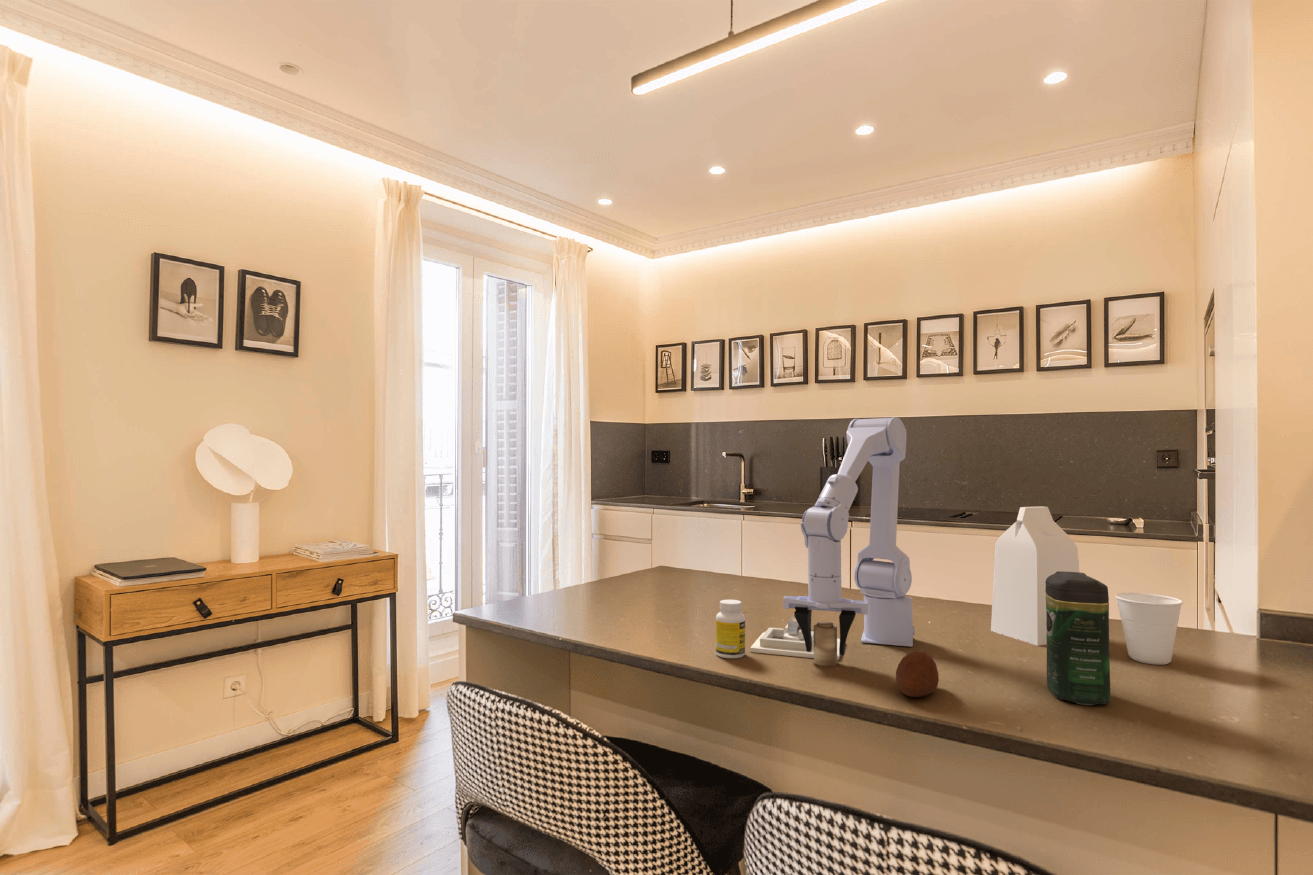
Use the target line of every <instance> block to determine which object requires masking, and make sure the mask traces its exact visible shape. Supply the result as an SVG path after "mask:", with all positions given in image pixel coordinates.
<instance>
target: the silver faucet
mask: <svg viewBox="0 0 1313 875" xmlns="http://www.w3.org/2000/svg"><path fill="white" fill-rule="evenodd" d="M794 613H795V608H793V614H792V615H791V617H790V618H789V619H788V621H787V624H788V634H790V635H797V634H798V633H799V630H800V626H799V624H798V622H797V620H796V618H795V616H794Z"/></svg>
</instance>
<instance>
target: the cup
mask: <svg viewBox="0 0 1313 875" xmlns="http://www.w3.org/2000/svg"><path fill="white" fill-rule="evenodd" d="M1114 597H1115V599H1116V602H1117V606H1118V611H1119V617H1120V619H1121V625H1122V629H1123V635H1124V640H1125V643H1126V644H1125V645H1126V650H1127V653H1128V656H1129V657H1130V659H1132V660H1133V661H1136V662H1139V663H1142V664H1148V665H1158V666H1163V665H1168V664H1169V663H1171V662H1172V659H1173V658H1172V657H1173V652H1174V647H1175V641H1176V634H1177V631H1178V630H1177V629H1178V624H1179V620H1180V614H1181V608H1182V605H1183V604H1184V601H1183V600H1181V599H1179V598H1176V597H1173V596H1168V595H1162V594H1157V593H1156V594H1154V593H1146V592H1120V593H1116V594H1115V595H1114Z"/></svg>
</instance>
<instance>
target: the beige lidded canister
mask: <svg viewBox="0 0 1313 875" xmlns="http://www.w3.org/2000/svg"><path fill="white" fill-rule="evenodd" d="M813 631H814V658H813V663H814V664H815V665H817V666H820V667H835V666H837V665H838V661H837V638H838V627H837V626H836V625H835V624H834V623H833V622H831V621H827V620H824V621H823V620H821V621H817V622H816V624H814V625H813Z"/></svg>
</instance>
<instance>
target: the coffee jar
mask: <svg viewBox="0 0 1313 875" xmlns="http://www.w3.org/2000/svg"><path fill="white" fill-rule="evenodd" d="M1045 583H1046V590H1045V591H1046V625H1047V645H1046V685H1047V687H1048V689H1049V691H1050V692H1051V694H1053V696H1055V697H1056V698H1057V699H1059V700H1064V701H1065V700H1066V701H1069V702H1073V703H1075V704H1077V705H1083V706H1094V705H1107V704H1108V703H1110V701H1111V665H1110V663H1111V662H1110V659H1111V658H1110V599H1109V598H1110V596H1109V589H1108V588H1109V587H1108V586H1107V585H1106V584H1105V583H1103V582H1101V581H1099V580H1097V579H1095V578H1093V577H1091V576H1088V575H1087V574H1086V573H1084V572H1080V571H1079V572H1064V571H1057V572H1056V573H1055V574H1052V575H1050V576H1049V577H1047V579H1046V582H1045Z"/></svg>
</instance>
